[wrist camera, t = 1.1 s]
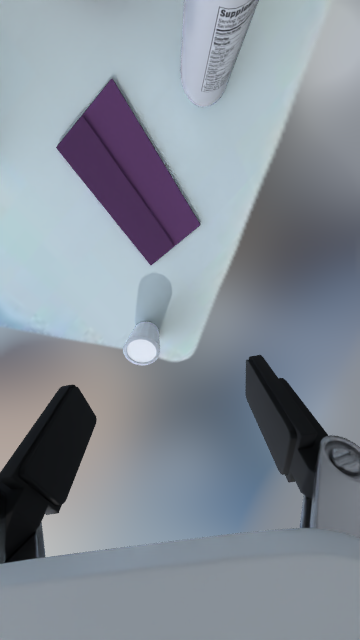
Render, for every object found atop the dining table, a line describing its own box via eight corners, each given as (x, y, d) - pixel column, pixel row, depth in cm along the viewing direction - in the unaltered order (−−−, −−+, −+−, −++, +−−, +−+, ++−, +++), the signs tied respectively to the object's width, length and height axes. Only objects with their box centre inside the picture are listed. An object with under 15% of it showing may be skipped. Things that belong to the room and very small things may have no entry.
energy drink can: (213, 23, 20) (291, -364, 7) (234, 89, 23) (323, -109, 10) (170, 65, 22) (169, -196, 8) (195, 123, 24) (224, -9, 11)
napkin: (57, 148, 25) (54, 146, 24) (112, 80, 22) (110, 75, 21) (151, 265, 32) (150, 265, 32) (200, 224, 30) (200, 224, 29)
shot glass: (153, 314, 37) (149, 330, 31) (166, 339, 40) (165, 358, 34) (124, 325, 38) (115, 344, 32) (140, 349, 41) (134, 370, 35)
